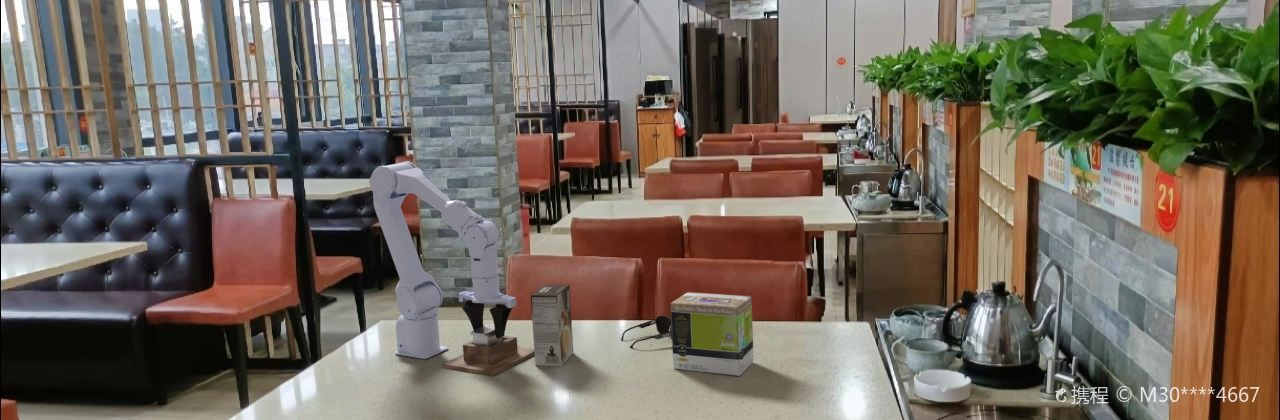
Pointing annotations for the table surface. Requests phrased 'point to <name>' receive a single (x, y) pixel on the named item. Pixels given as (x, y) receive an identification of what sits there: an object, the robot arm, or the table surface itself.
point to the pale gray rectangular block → (485, 336)
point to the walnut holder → (490, 357)
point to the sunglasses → (662, 327)
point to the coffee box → (552, 325)
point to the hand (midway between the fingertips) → (489, 335)
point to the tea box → (712, 333)
